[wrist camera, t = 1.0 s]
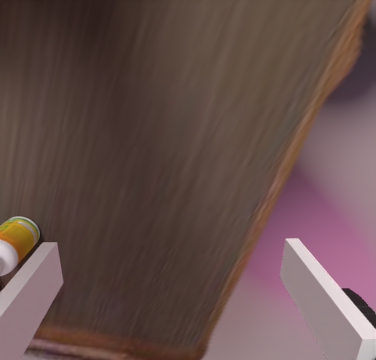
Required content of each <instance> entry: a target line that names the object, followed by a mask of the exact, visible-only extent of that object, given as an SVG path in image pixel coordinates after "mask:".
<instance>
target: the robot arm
mask: <svg viewBox="0 0 376 360" xmlns="http://www.w3.org/2000/svg"><path fill="white" fill-rule="evenodd" d="M280 279H281V281H282V283H283V284H284V286H285V288H286V290H287V291H288V293H289V295H290V296H291V298H292V300H293V302H294V303H295V305H296V307H297V309H298V310H299V312H300V314H301V316H302V317H303V319H304V321H305V323H306V324H307V326H308V328H309V330H310V331H311V333H312V335H313V336H314V338H315V340H316V342H317V343H318V345H319V347H320V349H321V350H322V352H323V354H324V355H325V357H326V359H327V360H376V314H375V312H374V311H373V310H372V309H371V308H370V307H368V304H366V302H365V301H364V300H363V299H362V298H361V297H360V296H359V295H358V294H356V293H355V292H353V291H352V290H350V289H349V288H343V289H341V288H340V287H339V286H338V285H337V283H336V282H335V281H334V280H333V279H332V278H331V276H330V275H329V274H328V273H327V272H326V271H325V269H324V268H323V267H322V266H321V265H320V264H319V262H318V261H317V260H316V259H315V258H314V257H313V255H312V254H311V253H310V252H309V251H308V250H307V248H306V247H305V246H304V245H303V244H302V243H301V241H300V240H299V239H285V245H284V251H283V258H282V264H281V270H280ZM62 284H63V277H62V271H61V265H60V259H59V252H58V246H57V242H43V243H42V244H41V245H40V246H39V247H38V249H37V250H36V251H35V252H34V253H33V255H32V256H31V257H30V258H29V259H28V260H27V262H26V263H25V264H24V265H23V266H22V268H21V269H20V270H19V271H18V272H17V273H16V275H15V276H14V277H13V278H12V279H11V280H10V282H9V283H8V284H7V285H6V286H5V288H4V289H3V290H2V291H1V292H0V360H20V359H21V357H22V355H23V354H24V352H25V350H26V348H27V347H28V345H29V343H30V341H31V339H32V338H33V336H34V334H35V332H36V331H37V329H38V327H39V325H40V323H41V322H42V320H43V318H44V316H45V315H46V313H47V311H48V309H49V307H50V306H51V304H52V302H53V300H54V299H55V297H56V295H57V293H58V291H59V290H60V288H61V286H62Z"/></svg>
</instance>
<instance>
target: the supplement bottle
mask: <svg viewBox="0 0 376 360" xmlns="http://www.w3.org/2000/svg"><path fill="white" fill-rule="evenodd" d="M39 237H40V231H39V228H38V226H37V225H36V224H35V223H34V222H33V221H32V220H30V219H28V218H25V217H13V218H10V219H9V220H7V221H6V222H4V223H3V224H2V225H1V226H0V276H2V275H5V274H7V273H9V272H11V271H12V270H13V269H14V268H15V267H16V266H17V264H18V263H19V262H20V261H21V260H22V259H23V258H24V257H25V255H26V254H27V253H28V252H29V251H30V250H31V249H32V248H33V246H34V245H35V244H36V243H37V242H38V240H39Z"/></svg>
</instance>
